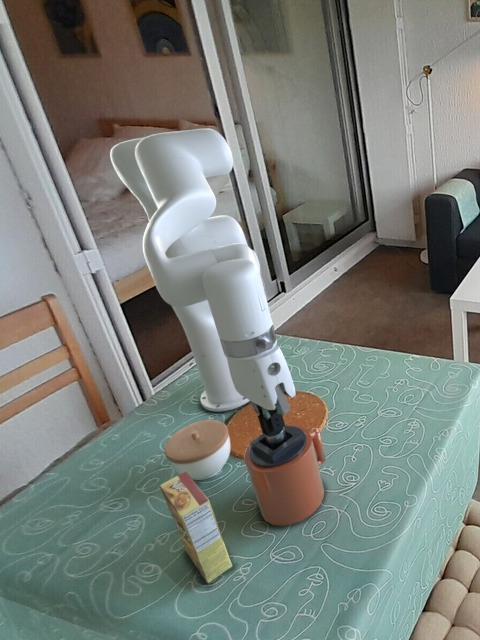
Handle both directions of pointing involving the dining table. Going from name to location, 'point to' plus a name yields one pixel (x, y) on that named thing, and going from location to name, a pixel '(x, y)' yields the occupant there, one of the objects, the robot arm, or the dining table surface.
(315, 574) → the dining table surface
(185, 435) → the trinket box
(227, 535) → the dining table surface
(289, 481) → the jug
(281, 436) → the jug button
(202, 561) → the candy box
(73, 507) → the dining table surface
